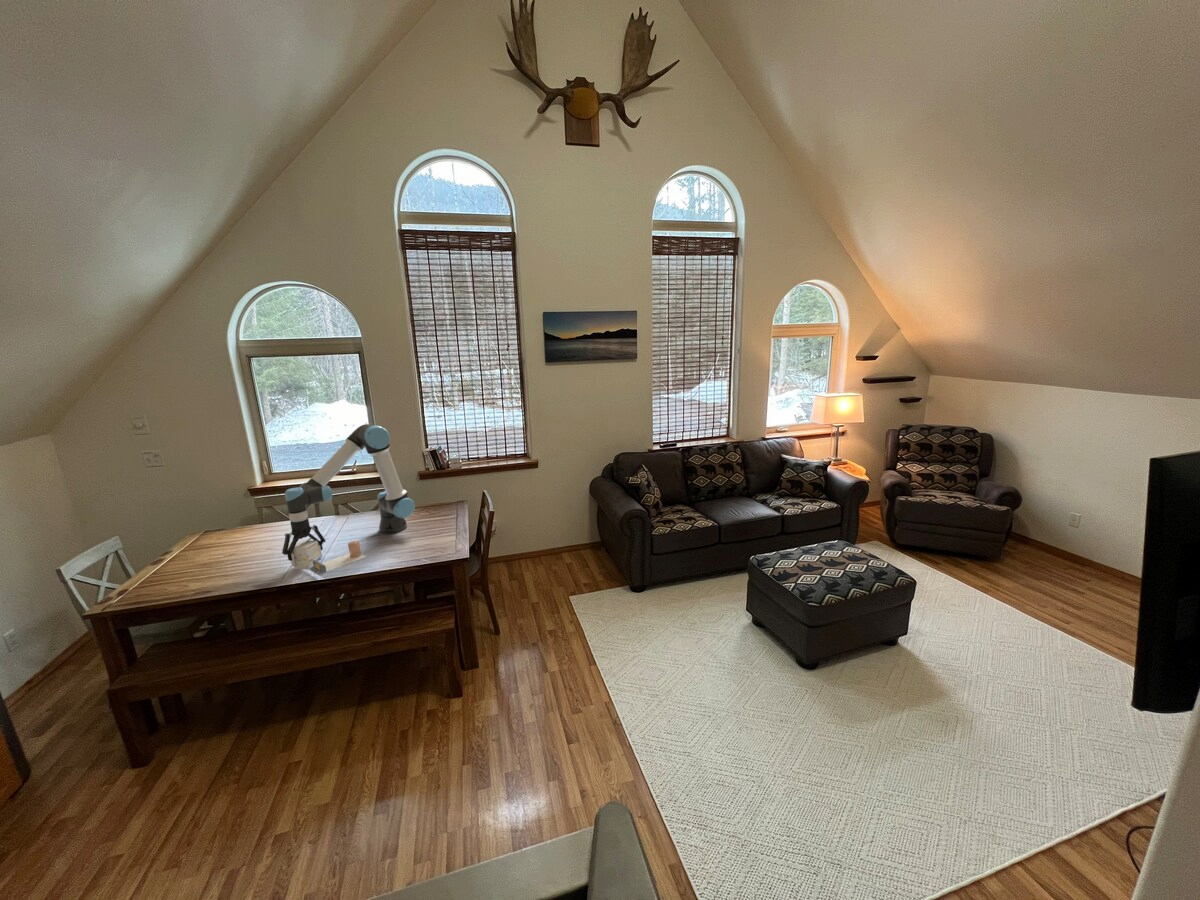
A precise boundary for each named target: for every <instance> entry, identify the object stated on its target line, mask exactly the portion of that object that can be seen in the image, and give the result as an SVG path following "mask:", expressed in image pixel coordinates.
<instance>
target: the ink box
mask: <svg viewBox="0 0 1200 900" xmlns="http://www.w3.org/2000/svg"><path fill="white" fill-rule="evenodd" d="M292 553H293V555H294V560H295V565H296V567H293V568H294V570H309V568H310V567H312V566H313V561H312V560H316V561H318V562H320V560H321V557H320V552H319V547H318V542H317V541H314V540H312V539H311V538H310V537H309V538H308V539H306V540H301V541H298V542H297V543H296V545H295V547H294V549H293V551H292Z"/></svg>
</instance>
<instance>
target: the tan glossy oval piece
mask: <svg viewBox="0 0 1200 900" xmlns="http://www.w3.org/2000/svg"><path fill="white" fill-rule="evenodd" d="M347 545H348V554H349V553H350V557H351V558H356V557H359V556H361V554H362V552H361V545H360V540H352V541H349V542H347Z"/></svg>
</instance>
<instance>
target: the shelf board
mask: <svg viewBox="0 0 1200 900" xmlns="http://www.w3.org/2000/svg"><path fill="white" fill-rule="evenodd" d="M364 558H367V556H366V555H364V554H362V553H361V556H359V557H356V558H351V557H350V553H349V552H348V553H347V554H344V555H341V556H338V557H336V558H332V559H329V560H326V561H324V562H322V563H321V562H320V561H316V560H312V561H313V565H312V566H313V567H314V568H316V569H318V570H319V571H320V572H323V573H326V572H329V571H331V570H335V569H337V568H340V567H343V566H345V565H348V564H352V563H354V562H356V561H359V560H361V559H364Z"/></svg>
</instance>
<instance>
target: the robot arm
mask: <svg viewBox="0 0 1200 900" xmlns="http://www.w3.org/2000/svg"><path fill="white" fill-rule="evenodd" d="M390 441H391V436H390V433H389V432H388V430H387V429H386V428H384V427H382V426H380V425H376V424H375V425H373V424H369V423H366V424H362V425H360V426H358V427H357V428H356V429H355V430H353V431H352V432H351V433H350V435H348V436H347V438H345V443H344V444H342V446H340V448H338V450H337V451H336V452H335V453H334V454H333V455H332V456H331V457H330V458H329V460H327V461H326V462H325V463H324V464H323V465H322V466H321V468H319V469H318V471H316V473H315V474H314V475H313V476H312V477H311V478H310V479H308V481H307V482H304V483H301V485H300V486H298V487H292V488H288V489H286V490H285V492H284V496H285V497H284V498H285V503H286V507H287V512H288V518H289V522H290V527H291V531H290V532H289V533H284V543H283V547H282V552H281V554H282V555H285V556H287V560H288V561H289V562H290V564H291V566H292V567H293V568H294V567H296V565H295V560H294V555H293V553H292V551H293V549H294V547H295V545H296V544H297V543H298V542H299V540H301V539H303V538H307V537H309V539H310V538H311V539H310V540H312V541H317V542H318V547H319V552H320V557H321V558H323V554H322V551H323V549H324V548H323V544H324V543H326V539H325V537H324V536H323V534H322V533H321V532H320V530H319V528H318V525H316V524H313V525H312V526H310V521H309V520H310V519H309V514H308V510H307V507H308V506H311V505H315V504H319V503H320V504H321V503H325V502H327V501H328V502H329V501H331V500H332V499H333V491H332V488H331V487H330V486H329V485H328V483H329V482H331V480H332V479H333V478H334V477H335V476H336V475H337V474H338V473H339V472H340V471H341V470H342V468H343V467H344V466H346V465H347V463H348V462H350V460H351V459H352V458H353V457H354V456H355V455H356V454H357V453H358V452H361V451H362V450H363V449H364V448H365V450H366V452H367V455H369V456H371V457H372V459H373V462H374V465H375V467H376V470H377V472H378V475H379V477H380V480H381V482H382V485H383V487H384V491H382V492H379V493H378V494H377V503H378V510H379V515H380V521H379V525H378V531H379V532H380V534H394V533H398V532H401V531H404V530H405V529H406V530H407V528H408V523H407V521H406V518H408V517H410V516H411V515H412V514H413V513H414V511H415V508H416V506H415V505H416V504H415V501H414V500H413V499H412V498H410V496H409V494H408V493H409V492H408V490H406V489H404V488H403V486H402V483H401V480H400V477H399V475H398V472H397V469H396V467H395V464H394V462H393V459H392V456H391V453H390V451H389V450H390V448H391V445H390ZM311 531H314V533H315V534H316V535H317V537H318V538H317V537H315V536H314V535H313V534H311ZM291 537H293V538H292V540H291ZM290 540H291V543H290Z"/></svg>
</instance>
